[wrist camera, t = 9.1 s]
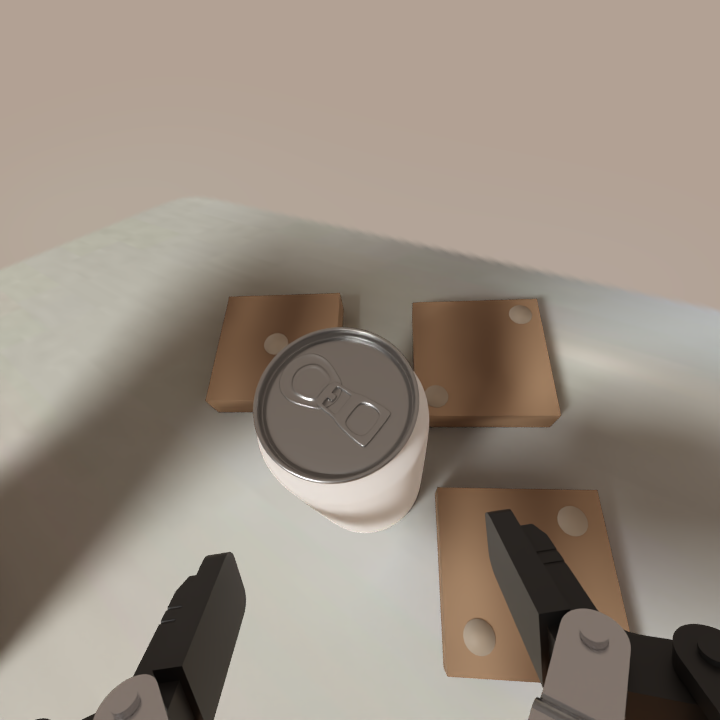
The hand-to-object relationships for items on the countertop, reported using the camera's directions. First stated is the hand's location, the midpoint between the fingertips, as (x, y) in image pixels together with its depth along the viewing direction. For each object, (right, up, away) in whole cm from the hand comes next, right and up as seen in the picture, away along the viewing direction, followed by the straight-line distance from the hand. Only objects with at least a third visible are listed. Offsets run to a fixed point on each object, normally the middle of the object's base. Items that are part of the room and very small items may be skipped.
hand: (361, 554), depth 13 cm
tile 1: (-5, +6, +16) cm, 18 cm away
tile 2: (+8, +6, +14) cm, 17 cm away
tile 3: (+8, -5, +8) cm, 13 cm away
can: (0, -1, +12) cm, 12 cm away
